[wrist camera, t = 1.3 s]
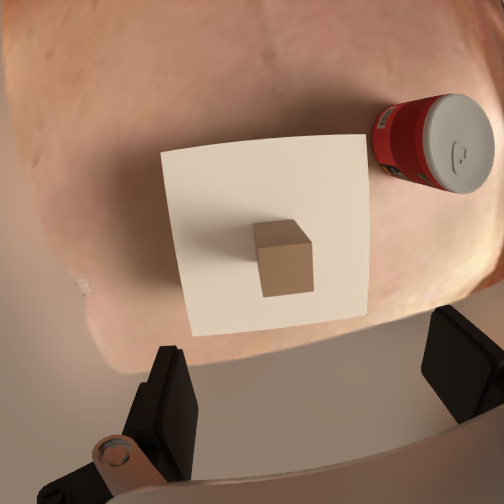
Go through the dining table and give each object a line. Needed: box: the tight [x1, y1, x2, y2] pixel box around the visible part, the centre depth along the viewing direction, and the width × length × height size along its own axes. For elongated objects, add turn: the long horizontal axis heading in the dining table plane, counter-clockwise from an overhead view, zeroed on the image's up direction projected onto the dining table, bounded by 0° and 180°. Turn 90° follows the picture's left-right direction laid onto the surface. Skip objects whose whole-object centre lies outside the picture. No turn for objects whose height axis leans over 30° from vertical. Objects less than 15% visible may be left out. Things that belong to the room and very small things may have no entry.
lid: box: [160, 134, 370, 336], centre depth 21 cm, size 15×15×7 cm
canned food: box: [371, 94, 495, 194], centre depth 24 cm, size 8×8×11 cm
